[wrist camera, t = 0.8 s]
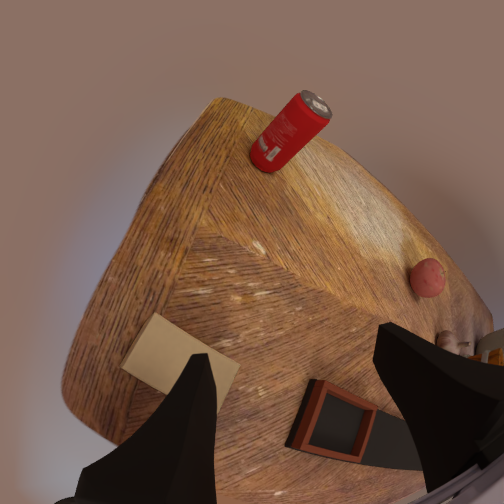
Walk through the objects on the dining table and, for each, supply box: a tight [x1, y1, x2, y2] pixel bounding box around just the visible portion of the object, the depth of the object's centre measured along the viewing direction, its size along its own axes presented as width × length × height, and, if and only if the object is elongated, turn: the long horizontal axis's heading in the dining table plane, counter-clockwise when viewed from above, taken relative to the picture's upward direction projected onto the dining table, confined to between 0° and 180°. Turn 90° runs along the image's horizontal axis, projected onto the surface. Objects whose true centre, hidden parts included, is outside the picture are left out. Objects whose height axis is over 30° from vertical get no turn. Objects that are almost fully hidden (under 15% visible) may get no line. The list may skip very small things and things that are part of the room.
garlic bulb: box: [437, 330, 471, 355], centre depth 44 cm, size 8×7×8 cm
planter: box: [476, 328, 504, 358], centre depth 55 cm, size 17×17×15 cm
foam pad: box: [119, 312, 240, 414], centre depth 21 cm, size 5×8×4 cm, turn 64°
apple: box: [410, 258, 446, 298], centre depth 45 cm, size 7×7×8 cm
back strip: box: [285, 379, 423, 471], centre depth 30 cm, size 8×40×2 cm, turn 64°
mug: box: [463, 348, 504, 366], centre depth 42 cm, size 11×16×15 cm, turn 132°
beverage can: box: [250, 90, 332, 173], centre depth 33 cm, size 5×5×12 cm
